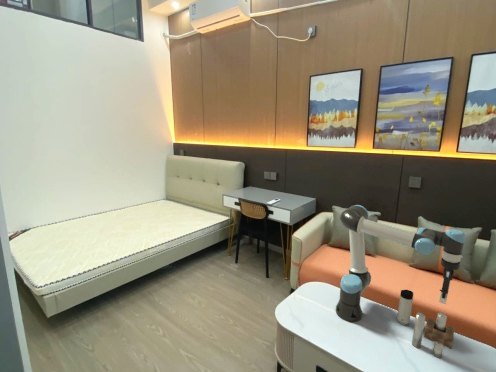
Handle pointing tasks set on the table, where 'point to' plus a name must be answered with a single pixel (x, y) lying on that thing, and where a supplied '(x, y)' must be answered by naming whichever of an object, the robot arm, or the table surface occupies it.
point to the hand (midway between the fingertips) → (444, 296)
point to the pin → (441, 321)
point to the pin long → (418, 330)
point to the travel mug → (405, 307)
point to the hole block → (439, 333)
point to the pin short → (437, 349)
